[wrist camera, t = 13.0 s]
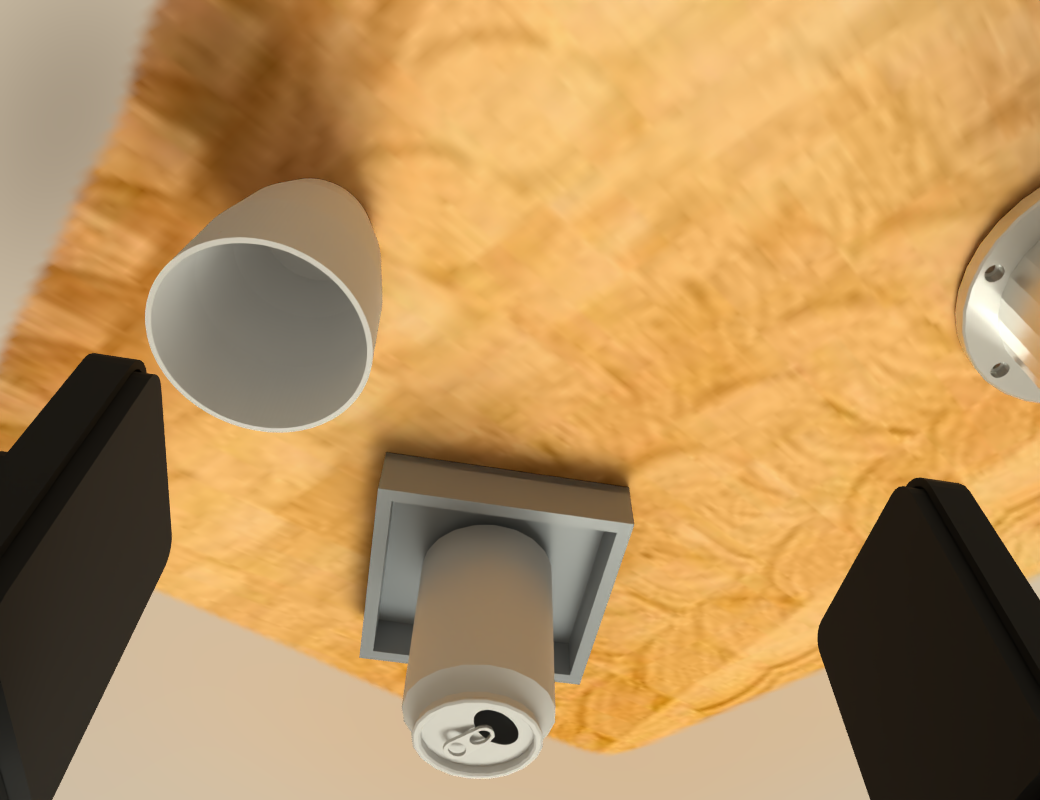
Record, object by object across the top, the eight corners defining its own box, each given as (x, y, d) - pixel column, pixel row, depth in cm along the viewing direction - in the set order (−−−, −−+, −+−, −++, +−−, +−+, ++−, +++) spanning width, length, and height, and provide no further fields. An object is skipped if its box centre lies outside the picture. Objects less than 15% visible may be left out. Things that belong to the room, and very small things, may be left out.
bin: (628, 487, 48) (634, 524, 45) (577, 645, 55) (579, 684, 53) (386, 452, 46) (377, 488, 44) (367, 618, 54) (359, 657, 52)
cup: (248, 311, 42) (179, 435, 33) (207, 146, 37) (114, 242, 29) (415, 306, 41) (386, 429, 33) (394, 138, 37) (354, 233, 29)
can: (573, 581, 51) (583, 766, 41) (463, 619, 53) (448, 805, 43) (514, 496, 47) (510, 677, 37) (399, 540, 49) (366, 724, 39)
